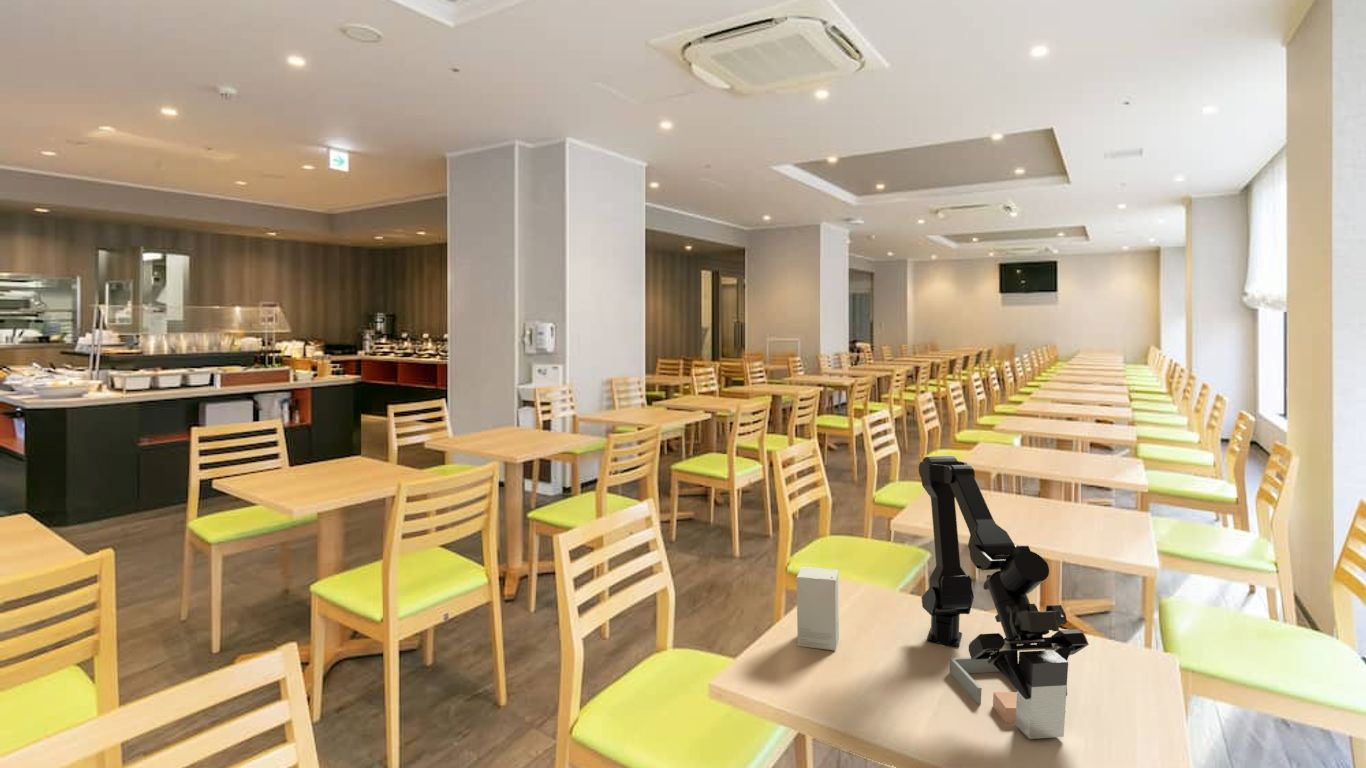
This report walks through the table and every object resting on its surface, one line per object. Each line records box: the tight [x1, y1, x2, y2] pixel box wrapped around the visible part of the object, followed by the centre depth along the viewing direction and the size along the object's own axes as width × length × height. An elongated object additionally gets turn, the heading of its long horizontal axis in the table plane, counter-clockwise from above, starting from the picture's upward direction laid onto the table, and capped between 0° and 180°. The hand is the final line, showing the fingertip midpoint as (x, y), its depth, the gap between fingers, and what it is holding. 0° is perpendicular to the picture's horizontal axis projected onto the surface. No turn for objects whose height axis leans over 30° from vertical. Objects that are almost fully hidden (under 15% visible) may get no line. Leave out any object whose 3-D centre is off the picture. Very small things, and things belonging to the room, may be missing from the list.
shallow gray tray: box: [949, 656, 1001, 705], centre depth 132 cm, size 11×11×3 cm
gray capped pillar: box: [1014, 649, 1069, 740], centre depth 116 cm, size 4×6×13 cm, turn 95°
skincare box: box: [796, 566, 840, 651], centre depth 148 cm, size 8×7×16 cm
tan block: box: [992, 691, 1017, 724], centre depth 122 cm, size 5×7×3 cm
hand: (1046, 697), depth 115 cm, fingers closed on gray capped pillar, 6 cm apart
